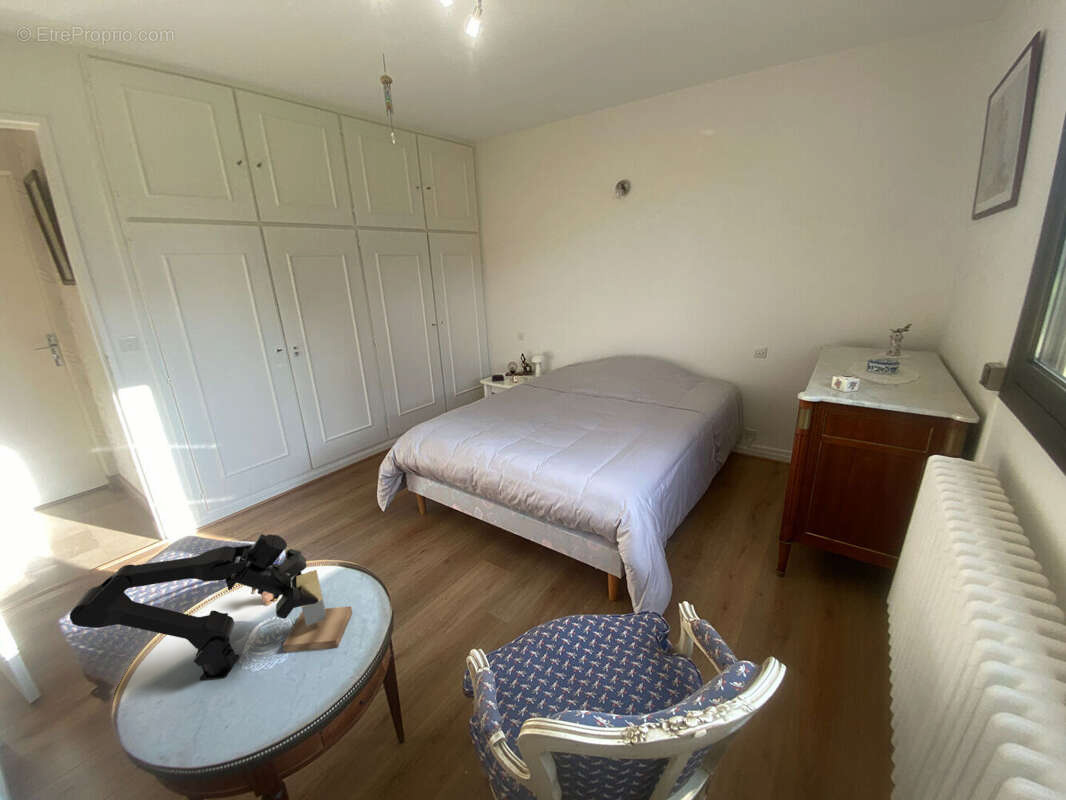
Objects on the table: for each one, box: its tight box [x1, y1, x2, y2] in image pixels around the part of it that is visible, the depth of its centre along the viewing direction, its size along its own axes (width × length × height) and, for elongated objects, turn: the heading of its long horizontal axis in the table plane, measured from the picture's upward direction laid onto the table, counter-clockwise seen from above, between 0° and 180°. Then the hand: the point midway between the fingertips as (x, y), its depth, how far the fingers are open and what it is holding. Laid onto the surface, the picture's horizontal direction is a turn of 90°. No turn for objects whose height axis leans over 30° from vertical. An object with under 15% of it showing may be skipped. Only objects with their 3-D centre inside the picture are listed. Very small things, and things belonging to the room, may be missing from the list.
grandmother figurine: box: [250, 588, 280, 606], centre depth 131 cm, size 8×4×13 cm, turn 144°
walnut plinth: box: [282, 606, 353, 653], centre depth 121 cm, size 14×12×2 cm
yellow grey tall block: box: [296, 569, 326, 626], centre depth 118 cm, size 5×5×13 cm
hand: (316, 595), depth 118 cm, fingers closed on yellow grey tall block, 5 cm apart
